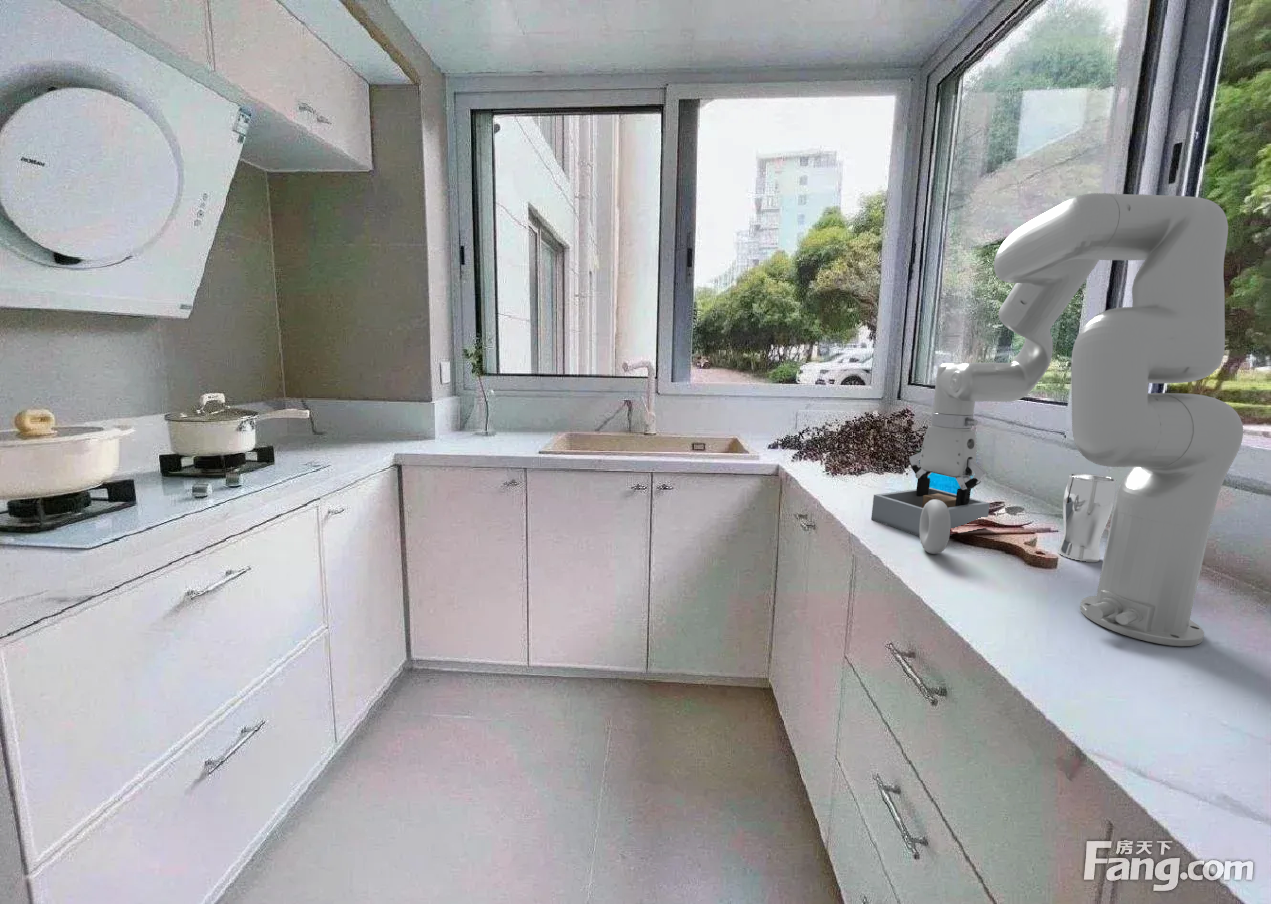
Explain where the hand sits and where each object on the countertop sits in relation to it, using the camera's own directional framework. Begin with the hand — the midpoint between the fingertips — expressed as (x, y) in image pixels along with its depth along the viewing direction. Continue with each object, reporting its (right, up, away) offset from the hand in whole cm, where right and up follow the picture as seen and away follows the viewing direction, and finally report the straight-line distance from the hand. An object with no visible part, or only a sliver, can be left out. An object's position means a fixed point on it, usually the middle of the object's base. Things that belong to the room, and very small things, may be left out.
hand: (941, 501), depth 119 cm
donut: (-12, -8, -18) cm, 23 cm away
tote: (-3, -5, -1) cm, 6 cm away
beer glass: (+15, -9, -18) cm, 25 cm away
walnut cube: (0, -4, +1) cm, 4 cm away
